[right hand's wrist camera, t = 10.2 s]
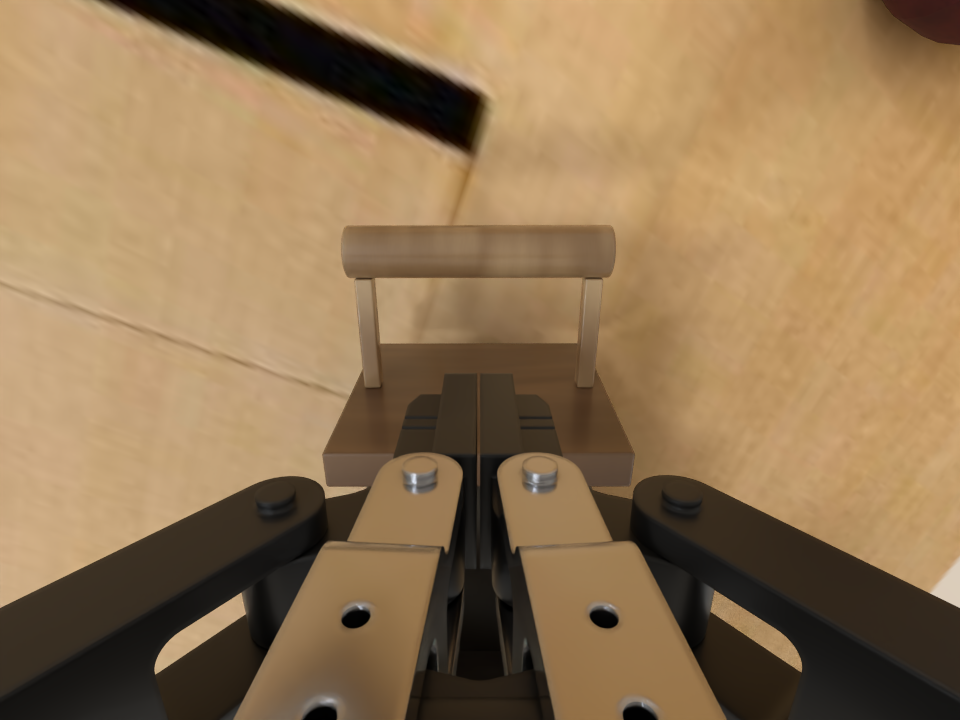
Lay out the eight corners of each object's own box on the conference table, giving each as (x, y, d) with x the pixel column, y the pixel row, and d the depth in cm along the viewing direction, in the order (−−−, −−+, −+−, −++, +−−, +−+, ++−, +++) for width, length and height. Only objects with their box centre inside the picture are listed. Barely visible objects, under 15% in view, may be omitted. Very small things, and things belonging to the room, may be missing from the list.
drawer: (362, 207, 21) (293, 258, 14) (595, 207, 21) (662, 257, 13) (400, 642, 31) (373, 819, 23) (560, 642, 31) (586, 819, 23)
